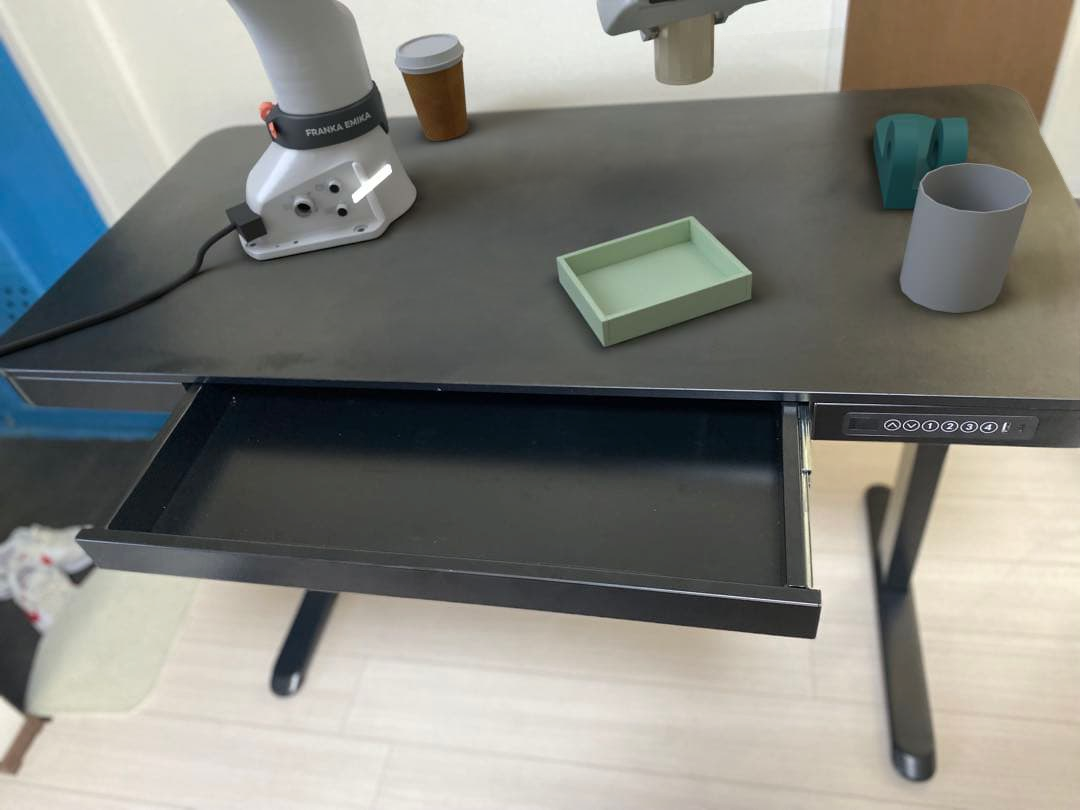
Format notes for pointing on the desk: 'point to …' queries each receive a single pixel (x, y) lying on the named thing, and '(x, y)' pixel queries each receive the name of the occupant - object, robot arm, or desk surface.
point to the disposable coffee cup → (435, 83)
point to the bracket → (915, 153)
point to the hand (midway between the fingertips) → (680, 26)
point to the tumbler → (685, 51)
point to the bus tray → (653, 280)
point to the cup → (963, 236)
